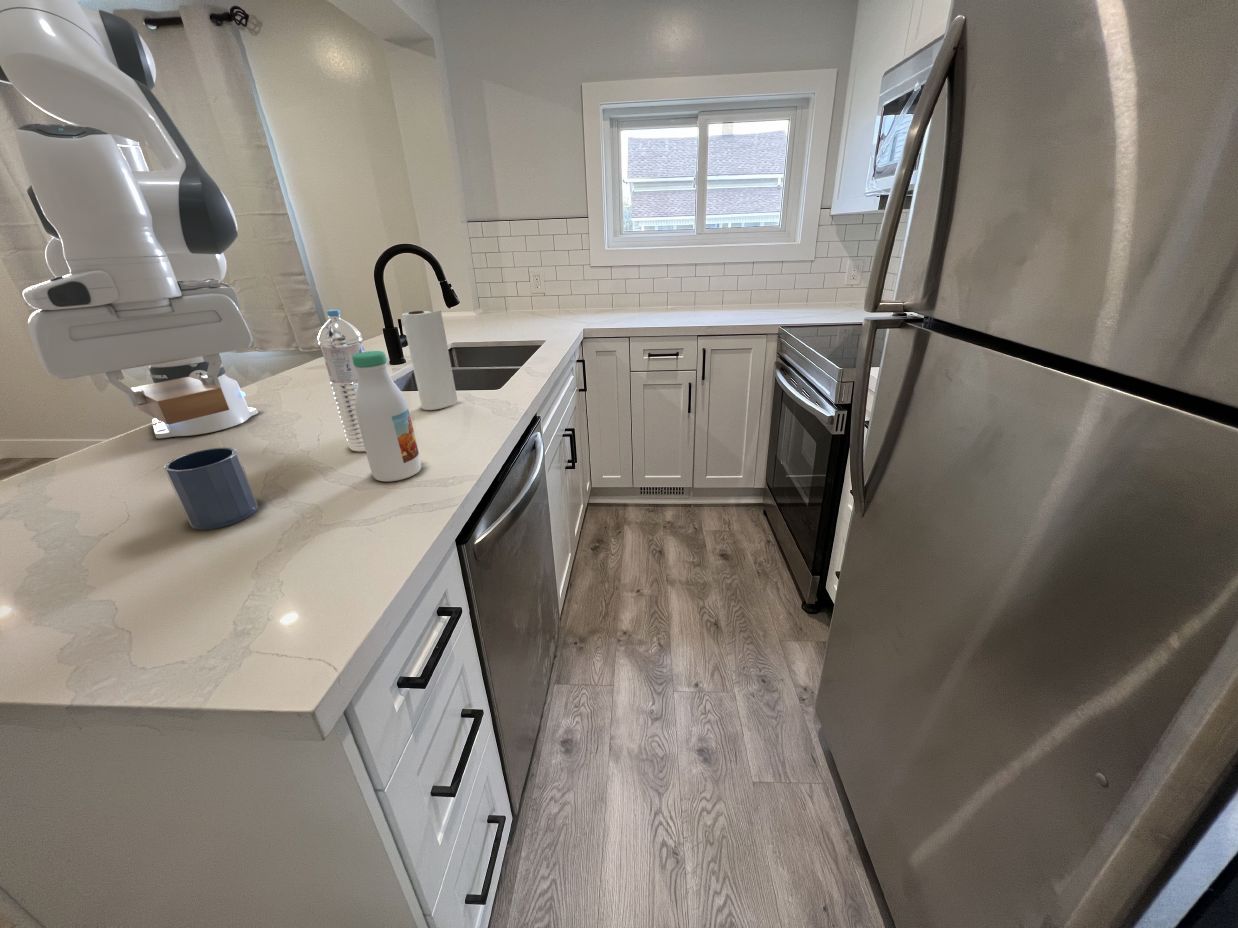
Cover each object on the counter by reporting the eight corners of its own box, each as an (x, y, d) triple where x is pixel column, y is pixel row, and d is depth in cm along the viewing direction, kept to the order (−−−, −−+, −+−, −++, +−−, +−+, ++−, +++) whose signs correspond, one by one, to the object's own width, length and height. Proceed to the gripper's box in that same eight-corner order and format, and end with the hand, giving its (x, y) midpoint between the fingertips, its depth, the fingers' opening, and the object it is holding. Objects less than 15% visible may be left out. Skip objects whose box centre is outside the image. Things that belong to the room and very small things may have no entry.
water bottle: (373, 453, 91) (335, 313, 81) (341, 452, 92) (300, 313, 82) (395, 439, 97) (363, 307, 87) (365, 438, 99) (329, 307, 88)
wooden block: (139, 409, 67) (129, 388, 65) (197, 397, 71) (188, 376, 70) (168, 425, 60) (157, 401, 59) (229, 409, 65) (221, 387, 64)
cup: (182, 519, 71) (155, 462, 68) (245, 496, 77) (223, 443, 73) (202, 536, 67) (175, 476, 63) (267, 510, 73) (245, 454, 69)
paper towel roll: (416, 410, 114) (395, 314, 105) (430, 402, 119) (410, 310, 110) (445, 411, 112) (426, 313, 103) (458, 403, 118) (441, 309, 109)
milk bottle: (392, 486, 78) (359, 361, 70) (363, 476, 82) (328, 356, 74) (431, 468, 84) (406, 350, 76) (403, 459, 88) (375, 346, 80)
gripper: (221, 277, 68) (256, 375, 74) (0, 293, 54) (65, 415, 59) (239, 277, 65) (274, 380, 71) (9, 295, 50) (77, 423, 56)
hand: (177, 396), depth 65 cm, fingers closed on wooden block, 6 cm apart
